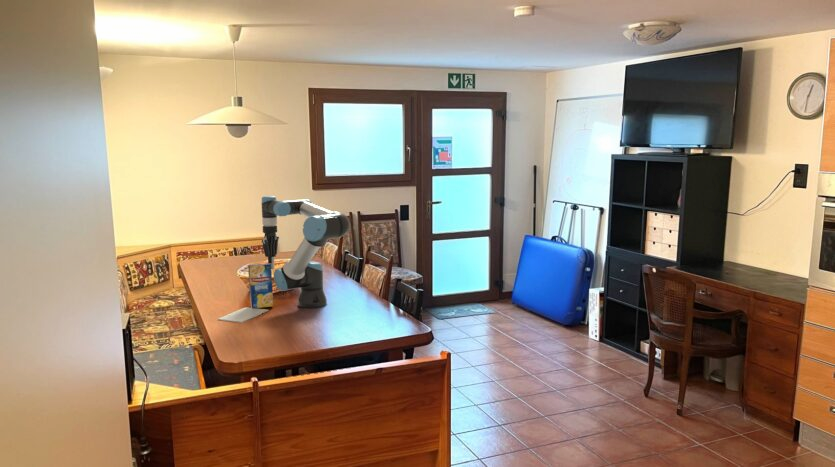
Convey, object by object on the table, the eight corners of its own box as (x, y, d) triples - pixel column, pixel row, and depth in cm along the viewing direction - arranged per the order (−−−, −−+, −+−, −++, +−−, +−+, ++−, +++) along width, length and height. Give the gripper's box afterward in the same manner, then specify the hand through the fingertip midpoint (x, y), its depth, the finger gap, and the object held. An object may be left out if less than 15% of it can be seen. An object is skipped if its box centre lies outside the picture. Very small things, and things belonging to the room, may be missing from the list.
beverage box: (273, 306, 307) (271, 264, 306) (251, 308, 303) (249, 265, 302) (271, 304, 313) (269, 263, 312) (250, 306, 309) (248, 265, 308)
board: (268, 310, 301) (268, 309, 301) (241, 322, 281) (241, 321, 281) (245, 308, 306) (245, 307, 306) (217, 319, 286) (217, 318, 286)
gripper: (270, 223, 318) (272, 266, 322) (256, 226, 306) (258, 270, 310) (282, 224, 316) (284, 267, 319) (268, 227, 304) (270, 271, 307)
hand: (271, 268), depth 315 cm, fingers closed
